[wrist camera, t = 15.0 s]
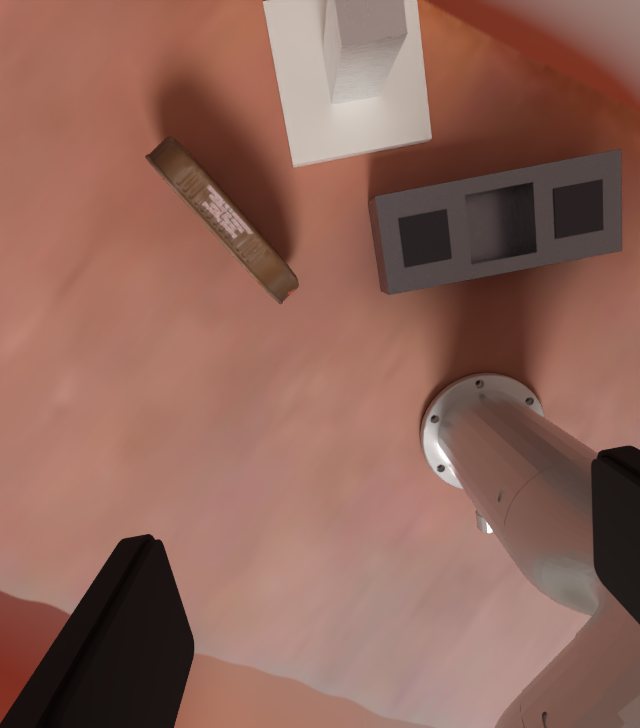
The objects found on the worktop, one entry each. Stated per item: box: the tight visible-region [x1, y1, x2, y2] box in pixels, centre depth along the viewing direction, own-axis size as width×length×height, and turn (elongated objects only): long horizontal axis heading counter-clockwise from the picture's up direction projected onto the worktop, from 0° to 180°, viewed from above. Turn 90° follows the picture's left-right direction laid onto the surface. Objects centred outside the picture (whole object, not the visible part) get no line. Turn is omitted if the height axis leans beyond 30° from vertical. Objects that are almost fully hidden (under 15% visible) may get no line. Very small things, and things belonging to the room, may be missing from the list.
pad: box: [263, 0, 432, 168], centre depth 35 cm, size 12×12×1 cm
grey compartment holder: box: [368, 149, 622, 295], centre depth 37 cm, size 8×20×4 cm, turn 101°
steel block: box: [323, 0, 408, 105], centre depth 30 cm, size 4×4×10 cm
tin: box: [145, 137, 299, 304], centre depth 34 cm, size 15×3×8 cm, turn 41°
